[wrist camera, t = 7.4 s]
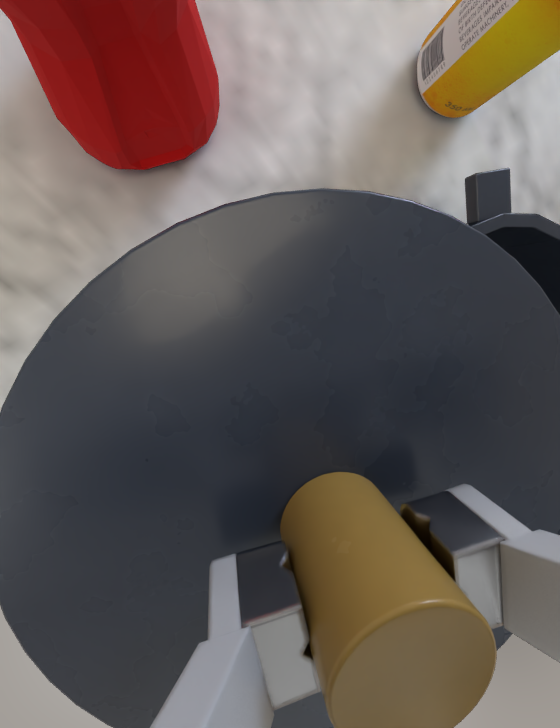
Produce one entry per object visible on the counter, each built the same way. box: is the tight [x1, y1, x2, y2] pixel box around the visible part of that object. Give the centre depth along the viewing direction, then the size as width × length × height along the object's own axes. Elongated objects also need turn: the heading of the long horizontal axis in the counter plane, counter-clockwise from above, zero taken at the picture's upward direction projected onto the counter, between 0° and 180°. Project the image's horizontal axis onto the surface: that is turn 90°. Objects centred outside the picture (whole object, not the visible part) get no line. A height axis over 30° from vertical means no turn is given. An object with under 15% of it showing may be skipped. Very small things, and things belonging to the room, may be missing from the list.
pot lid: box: [0, 188, 560, 728], centre depth 7 cm, size 15×15×5 cm
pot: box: [465, 168, 560, 315], centre depth 26 cm, size 14×19×8 cm
